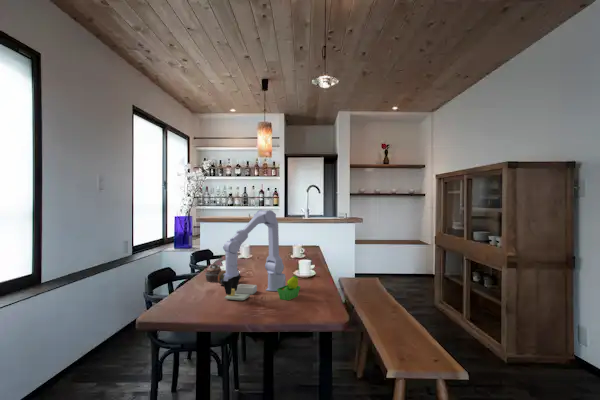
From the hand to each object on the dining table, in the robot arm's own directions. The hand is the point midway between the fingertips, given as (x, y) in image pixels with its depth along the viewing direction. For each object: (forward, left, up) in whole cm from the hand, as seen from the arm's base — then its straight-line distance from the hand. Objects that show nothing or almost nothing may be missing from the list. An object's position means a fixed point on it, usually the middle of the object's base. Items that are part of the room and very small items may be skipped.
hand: (231, 292), depth 177 cm
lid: (-3, 0, -2) cm, 4 cm away
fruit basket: (-28, -7, -3) cm, 29 cm away
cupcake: (+26, -34, -3) cm, 43 cm away
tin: (+14, -29, -3) cm, 32 cm away
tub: (-3, -12, -3) cm, 13 cm away
